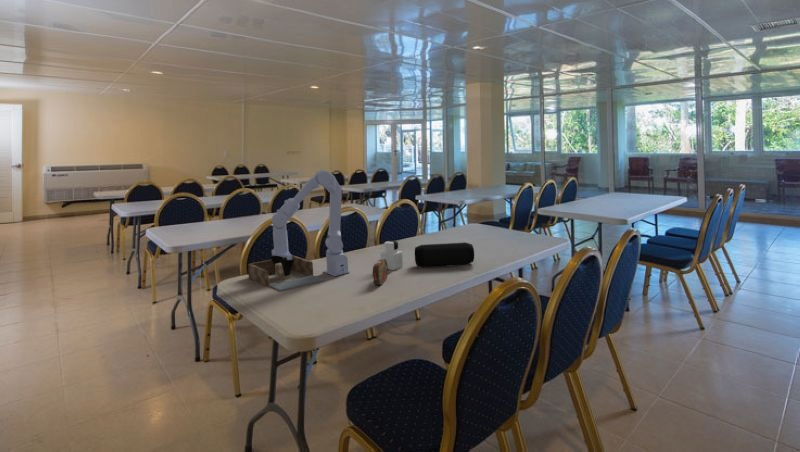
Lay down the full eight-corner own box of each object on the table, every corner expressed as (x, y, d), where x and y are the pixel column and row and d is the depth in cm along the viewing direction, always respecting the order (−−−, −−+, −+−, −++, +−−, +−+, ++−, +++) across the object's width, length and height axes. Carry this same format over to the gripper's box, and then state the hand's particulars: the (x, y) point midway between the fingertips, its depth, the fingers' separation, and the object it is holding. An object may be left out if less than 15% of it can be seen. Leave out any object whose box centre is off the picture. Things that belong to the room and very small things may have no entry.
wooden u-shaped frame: (313, 275, 185) (312, 261, 184) (266, 286, 171) (265, 271, 170) (294, 268, 197) (293, 255, 196) (248, 277, 184) (247, 263, 183)
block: (290, 277, 183) (289, 263, 182) (280, 280, 180) (279, 265, 179) (285, 275, 186) (284, 262, 185) (275, 277, 183) (274, 263, 182)
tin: (379, 287, 166) (379, 266, 165) (371, 287, 167) (371, 266, 165) (388, 276, 181) (388, 256, 179) (381, 276, 181) (380, 256, 180)
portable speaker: (468, 261, 203) (468, 240, 201) (475, 266, 193) (475, 244, 191) (414, 264, 199) (414, 243, 198) (418, 270, 190) (417, 247, 188)
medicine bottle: (390, 264, 199) (389, 239, 197) (403, 266, 195) (402, 240, 193) (380, 268, 194) (379, 242, 192) (393, 270, 190) (393, 243, 188)
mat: (323, 280, 177) (323, 279, 177) (280, 291, 164) (280, 289, 164) (312, 276, 183) (312, 275, 183) (269, 286, 171) (269, 284, 171)
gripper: (264, 240, 183) (266, 272, 185) (279, 245, 172) (282, 279, 175) (279, 238, 188) (281, 269, 190) (295, 243, 177) (298, 275, 179)
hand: (283, 273), depth 182 cm, fingers open, 7 cm apart
